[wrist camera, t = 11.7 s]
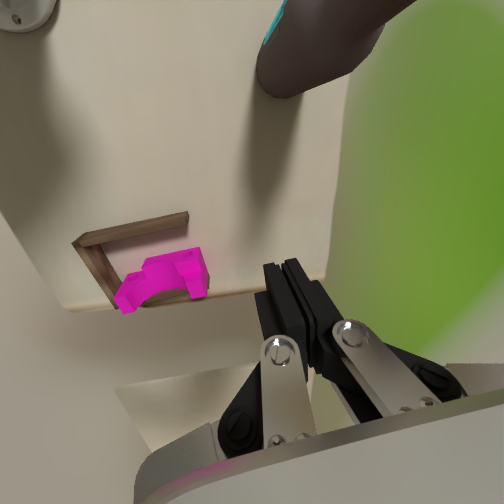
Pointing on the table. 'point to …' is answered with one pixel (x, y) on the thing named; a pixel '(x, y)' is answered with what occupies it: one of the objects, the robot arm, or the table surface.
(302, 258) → the table surface
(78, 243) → the walnut bay
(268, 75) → the beer bottle
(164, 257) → the magenta curved block
